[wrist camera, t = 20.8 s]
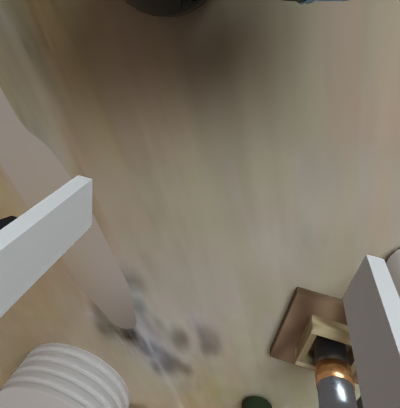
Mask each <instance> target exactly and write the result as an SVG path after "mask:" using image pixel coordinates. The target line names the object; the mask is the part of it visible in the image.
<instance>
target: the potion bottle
mask: <svg viewBox="0 0 400 408" xmlns="http://www.w3.org/2000/svg"><path fill="white" fill-rule="evenodd" d="M386 265H387V268H388V270H389V273H390V275H391V278H392V280H393V283H394V285H395V288H396V290H397V293H398V295H399V298H400V249H398V250H396V251H395V252H394V253H393V254H392V255H391V256H390V257H389V259H388V260H387V262H386Z"/></svg>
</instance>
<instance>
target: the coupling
mask: <svg viewBox="0 0 400 408" xmlns="http://www.w3.org/2000/svg"><path fill="white" fill-rule="evenodd" d="M313 343H314V354H315V377H316V387H317V390H318V399H319V408H357V403H356V398H355V392H354V391H355V386H354V381H353V376H352V371H351V367H350V366H349V361H348V355H347V350H346V345H345V344H344V343H341V342H338V341H335V340H331V339H328V338H325V337H322V336H318V335H317V336H316V338H315V340H314V342H313Z"/></svg>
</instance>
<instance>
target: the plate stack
mask: <svg viewBox="0 0 400 408" xmlns="http://www.w3.org/2000/svg"><path fill="white" fill-rule="evenodd" d="M129 404H130V394H129V390H128V388H127V386H126V384H125V382H124V381H123V379H122V378H121V377H120V375H119V374H118V373H117V372H116V371H115V370H114V369H113V368H112V367H111V366H109V365H108V364H107V363H106V362H104V361H103V360H102V359H100V358H98V357H97V356H95V355H93V354H91V353H89V352H87V351H85V350H83V349H80V348H78V347H75V346H71V345H67V344H61V343H47V344H42V345H39V346H37V347H35V348H34V349H33V350H32V351H31V352H30V353H29V354H28V355H27V357H26V358H25V359H24V361H23V362H22V363H21V364H20V366H19V367H18V368H17V369H16V371H15V372H14V373H13V374H12V376H11V377H10V378H9V379H8V381H7V382H6V383H5V384H4V386H3V388H1V389H0V408H128V407H129Z"/></svg>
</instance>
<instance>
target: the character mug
mask: <svg viewBox="0 0 400 408" xmlns="http://www.w3.org/2000/svg"><path fill="white" fill-rule="evenodd" d="M242 408H272V406H271V404H270V403H269V402H268V401H267V400H265V399H263V398H260V397H251V398H247V399H245V400H244V401H243V402H242Z"/></svg>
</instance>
